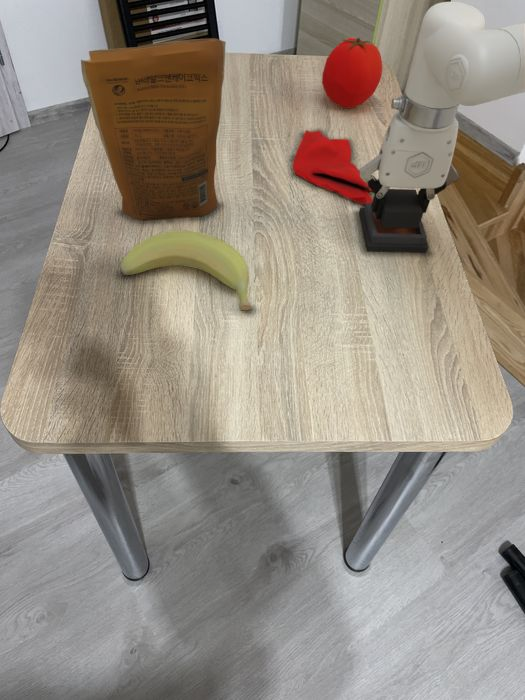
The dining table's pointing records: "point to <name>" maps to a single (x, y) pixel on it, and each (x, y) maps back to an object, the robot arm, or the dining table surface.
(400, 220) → the black pad
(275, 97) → the dining table surface
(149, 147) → the pancake mix bag
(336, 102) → the tomato
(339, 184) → the cloth
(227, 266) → the banana
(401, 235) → the base pad
